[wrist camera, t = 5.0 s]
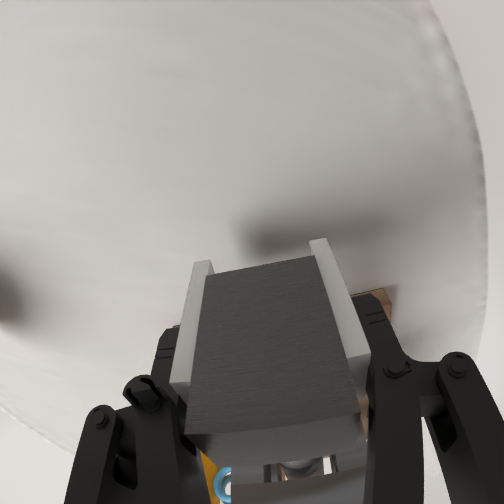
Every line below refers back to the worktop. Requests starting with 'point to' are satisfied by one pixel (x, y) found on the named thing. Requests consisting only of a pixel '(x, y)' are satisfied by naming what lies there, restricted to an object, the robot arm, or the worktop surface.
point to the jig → (312, 488)
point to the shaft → (271, 371)
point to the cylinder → (216, 481)
